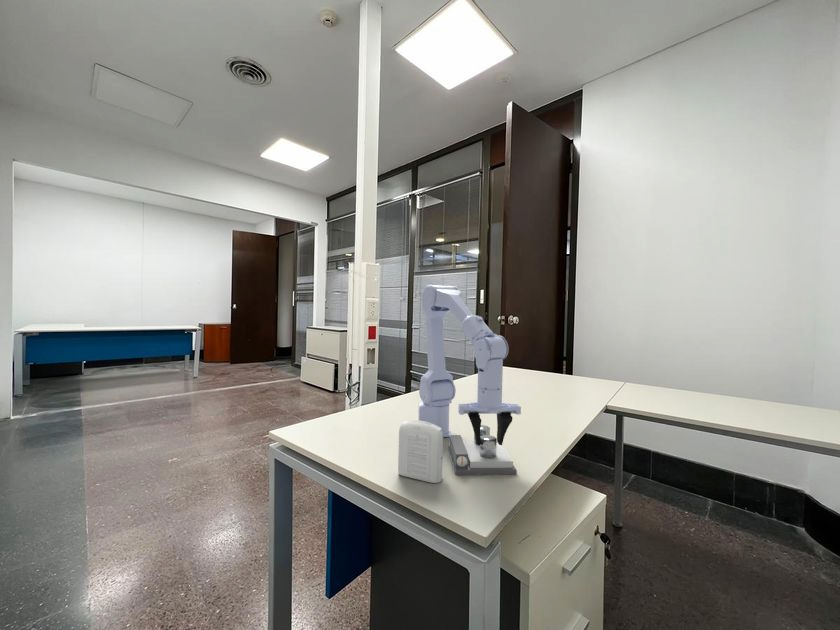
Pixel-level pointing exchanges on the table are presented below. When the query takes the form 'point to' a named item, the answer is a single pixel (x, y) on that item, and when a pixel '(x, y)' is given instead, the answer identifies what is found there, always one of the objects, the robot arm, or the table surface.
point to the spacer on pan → (483, 431)
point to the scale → (478, 459)
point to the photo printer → (420, 451)
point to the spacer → (487, 446)
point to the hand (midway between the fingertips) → (488, 443)
